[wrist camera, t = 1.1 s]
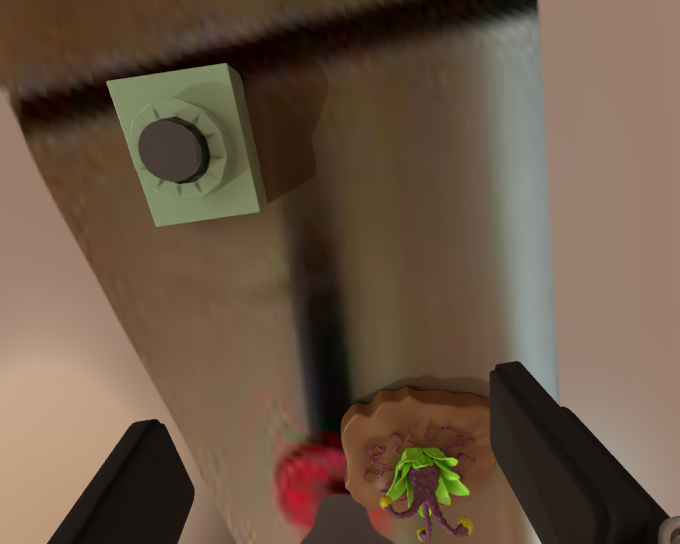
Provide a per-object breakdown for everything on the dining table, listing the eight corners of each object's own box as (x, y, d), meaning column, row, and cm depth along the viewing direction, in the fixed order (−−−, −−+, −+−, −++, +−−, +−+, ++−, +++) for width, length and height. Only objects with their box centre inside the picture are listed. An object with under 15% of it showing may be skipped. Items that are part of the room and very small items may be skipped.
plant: (482, 492, 47) (526, 591, 37) (345, 502, 47) (351, 604, 36) (499, 377, 40) (560, 459, 30) (338, 388, 40) (342, 474, 29)
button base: (135, 89, 28) (86, 75, 22) (240, 73, 28) (218, 55, 22) (175, 217, 32) (143, 232, 26) (268, 204, 32) (255, 216, 26)
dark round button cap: (144, 126, 24) (128, 124, 22) (198, 118, 24) (187, 115, 22) (162, 182, 25) (149, 185, 23) (213, 175, 25) (204, 177, 23)
